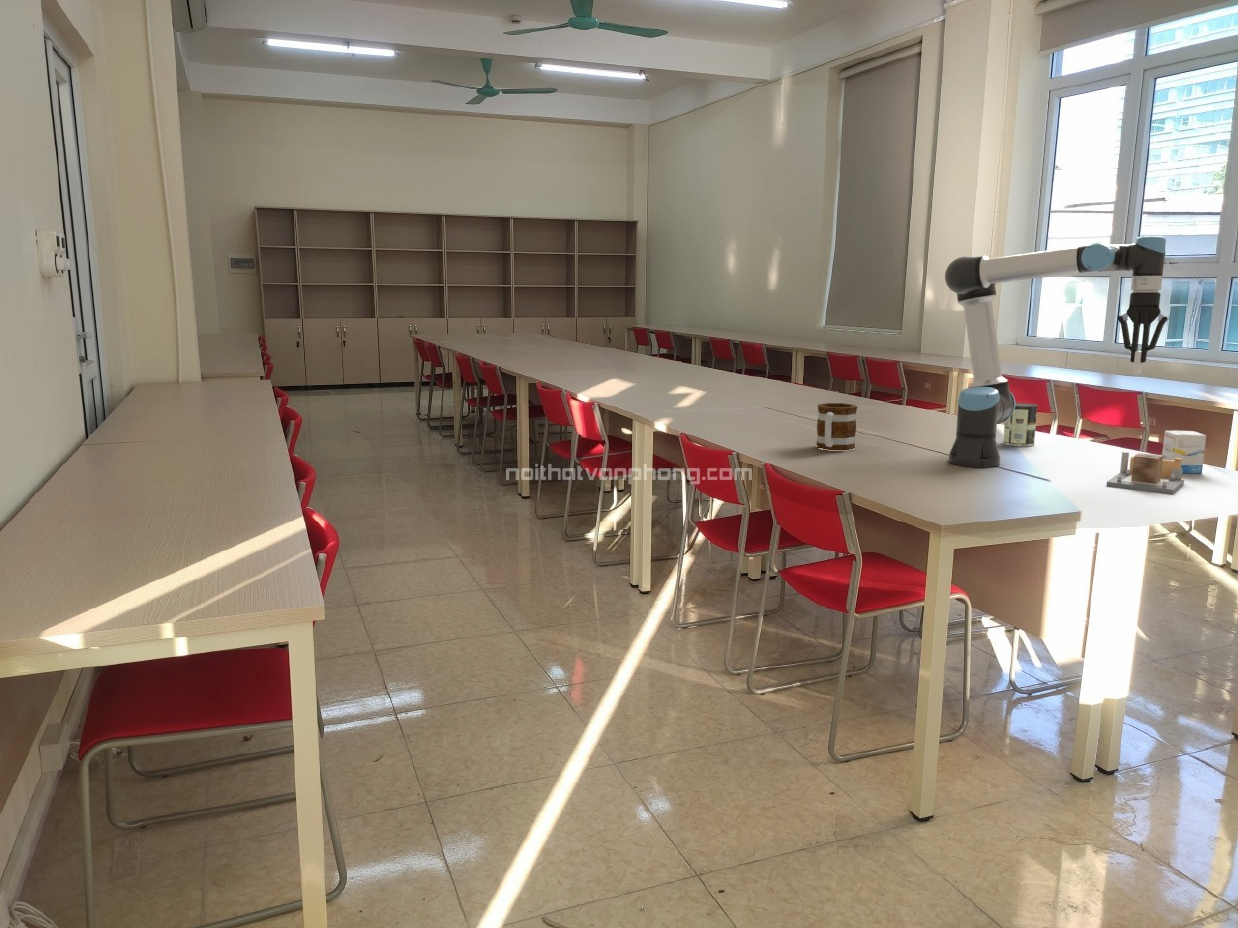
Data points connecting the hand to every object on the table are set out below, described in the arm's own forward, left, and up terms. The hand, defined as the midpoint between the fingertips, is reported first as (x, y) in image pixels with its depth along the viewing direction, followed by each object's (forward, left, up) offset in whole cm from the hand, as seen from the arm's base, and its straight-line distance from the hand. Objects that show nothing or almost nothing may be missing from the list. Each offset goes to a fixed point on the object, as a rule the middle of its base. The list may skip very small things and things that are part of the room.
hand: (1136, 373), depth 261 cm
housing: (+8, -15, -29) cm, 34 cm away
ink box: (+12, +13, -30) cm, 35 cm away
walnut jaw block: (+8, -16, -28) cm, 33 cm away
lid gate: (+8, -6, -29) cm, 31 cm away
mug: (-85, -21, -30) cm, 92 cm away
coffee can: (-40, +30, -30) cm, 58 cm away
